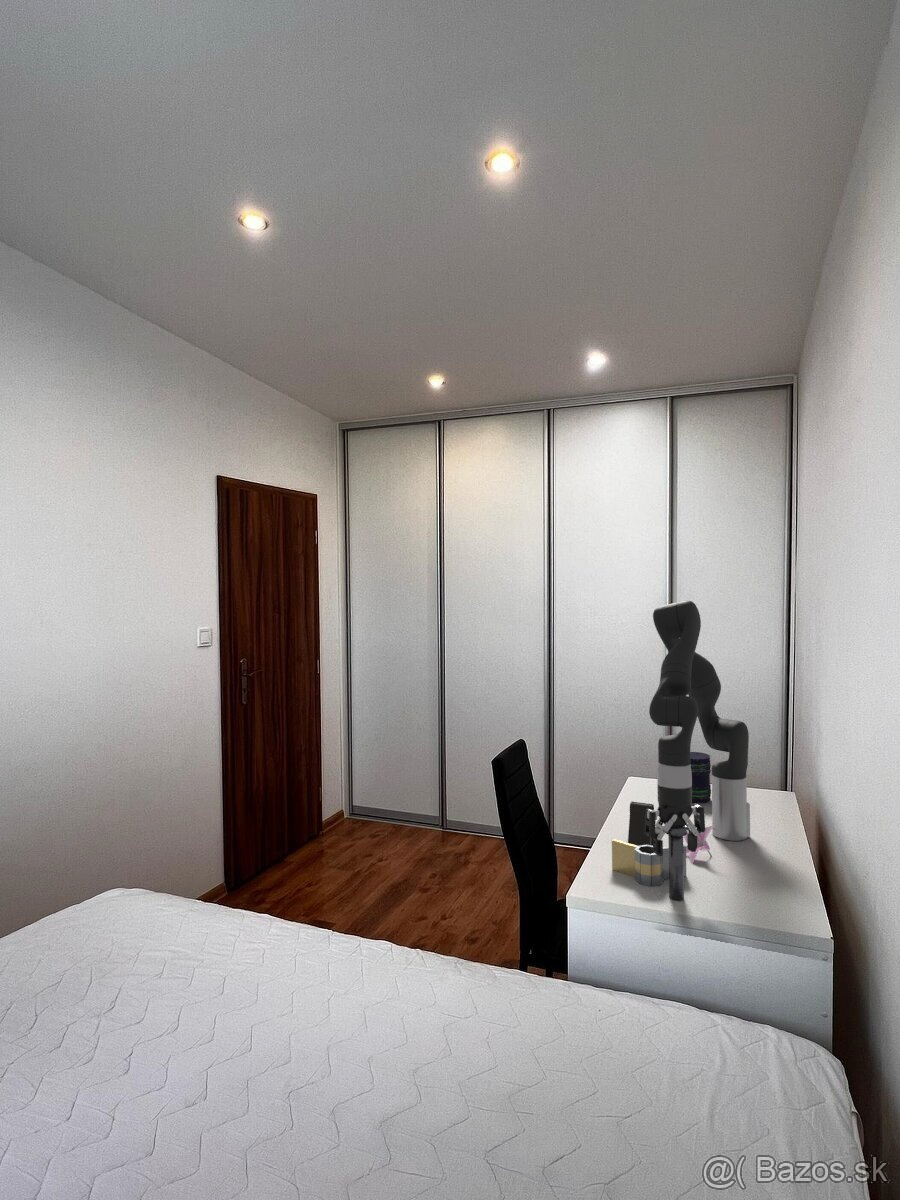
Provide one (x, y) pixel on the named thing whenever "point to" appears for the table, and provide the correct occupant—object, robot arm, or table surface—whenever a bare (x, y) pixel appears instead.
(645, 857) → the hinge
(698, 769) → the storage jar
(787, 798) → the table surface
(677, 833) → the hinge pin
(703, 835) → the lily
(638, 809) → the phone stand
